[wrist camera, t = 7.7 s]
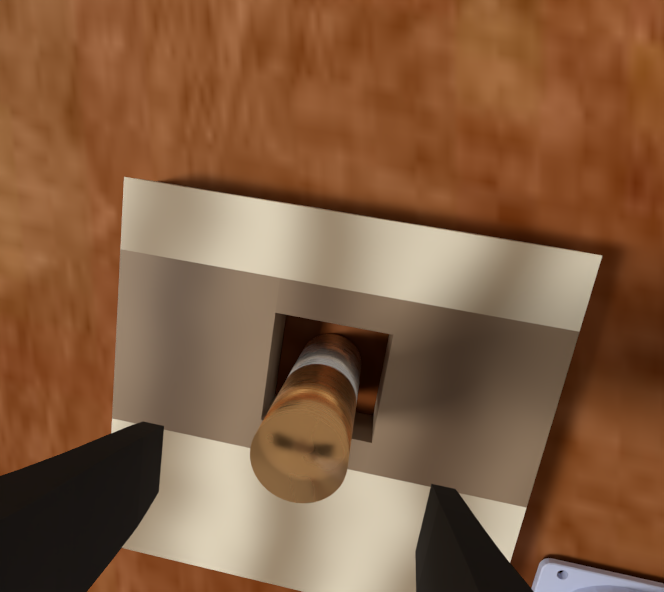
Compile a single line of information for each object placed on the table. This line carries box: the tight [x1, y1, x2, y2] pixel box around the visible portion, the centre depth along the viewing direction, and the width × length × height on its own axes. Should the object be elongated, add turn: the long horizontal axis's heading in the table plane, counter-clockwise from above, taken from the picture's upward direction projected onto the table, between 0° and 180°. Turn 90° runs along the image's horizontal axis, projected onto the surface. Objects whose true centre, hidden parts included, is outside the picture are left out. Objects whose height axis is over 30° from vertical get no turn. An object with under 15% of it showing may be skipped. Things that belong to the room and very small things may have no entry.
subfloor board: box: [111, 177, 602, 592], centre depth 19 cm, size 19×18×2 cm
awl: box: [250, 333, 362, 503], centre depth 16 cm, size 3×3×8 cm
